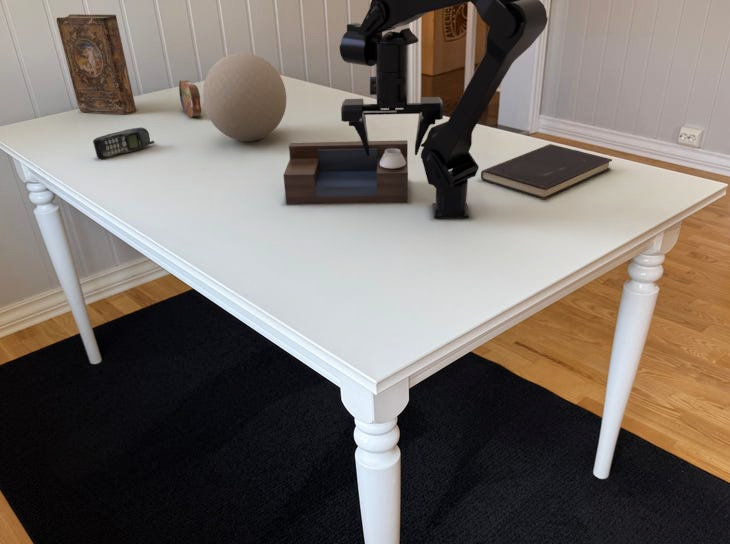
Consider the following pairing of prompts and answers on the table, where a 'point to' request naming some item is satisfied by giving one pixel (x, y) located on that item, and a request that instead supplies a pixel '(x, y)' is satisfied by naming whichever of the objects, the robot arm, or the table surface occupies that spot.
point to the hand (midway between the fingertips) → (392, 154)
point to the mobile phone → (121, 142)
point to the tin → (190, 98)
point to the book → (97, 63)
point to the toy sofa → (344, 173)
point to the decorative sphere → (244, 96)
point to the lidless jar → (392, 159)
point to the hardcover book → (546, 171)
